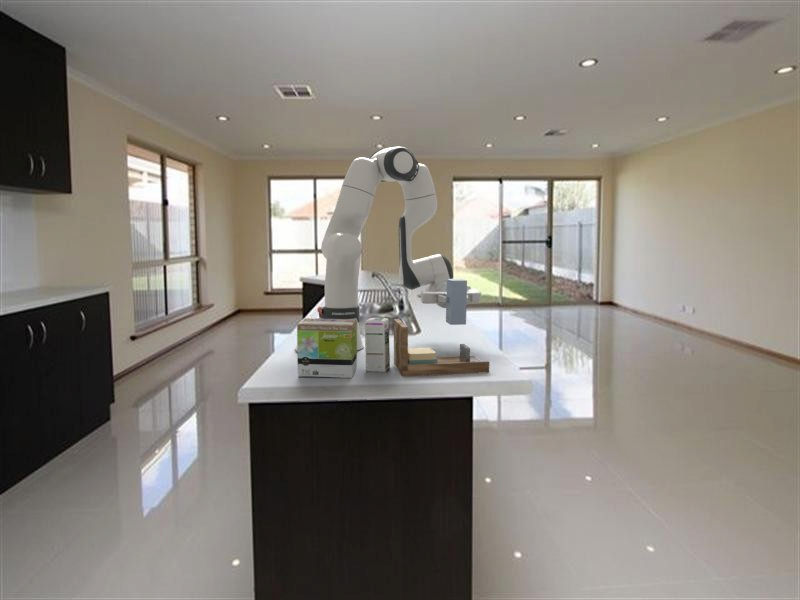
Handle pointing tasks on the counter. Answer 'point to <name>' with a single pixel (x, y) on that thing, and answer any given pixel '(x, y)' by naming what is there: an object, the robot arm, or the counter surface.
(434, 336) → the counter surface
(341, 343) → the tea box
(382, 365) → the syrup box
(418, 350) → the book stack
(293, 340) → the counter surface
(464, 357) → the bookend
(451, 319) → the light blue upright block
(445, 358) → the shelf
